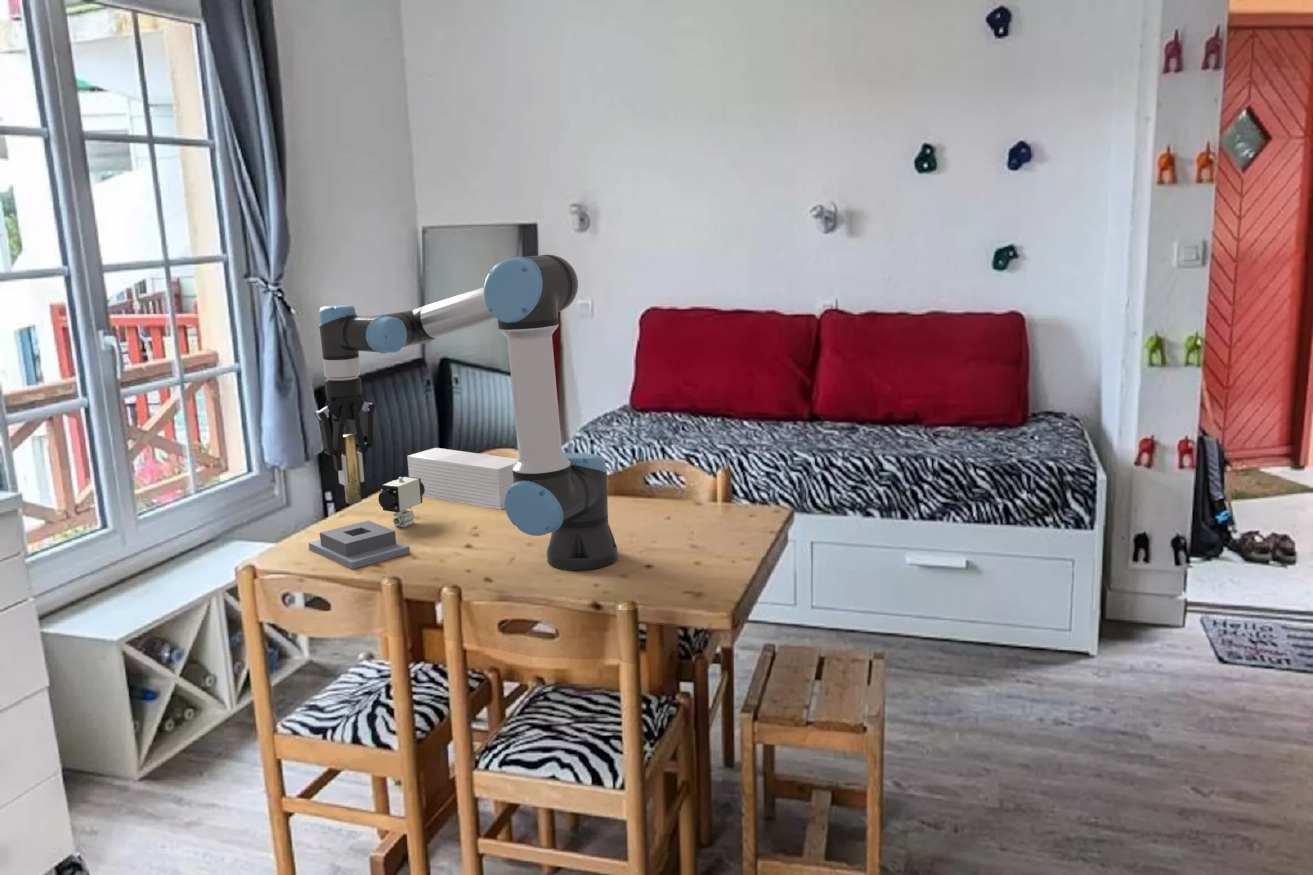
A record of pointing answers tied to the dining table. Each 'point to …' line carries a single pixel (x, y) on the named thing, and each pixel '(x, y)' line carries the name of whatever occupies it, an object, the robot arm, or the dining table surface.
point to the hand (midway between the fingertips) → (351, 482)
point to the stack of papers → (463, 476)
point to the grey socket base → (359, 544)
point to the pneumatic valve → (401, 498)
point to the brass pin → (351, 469)
